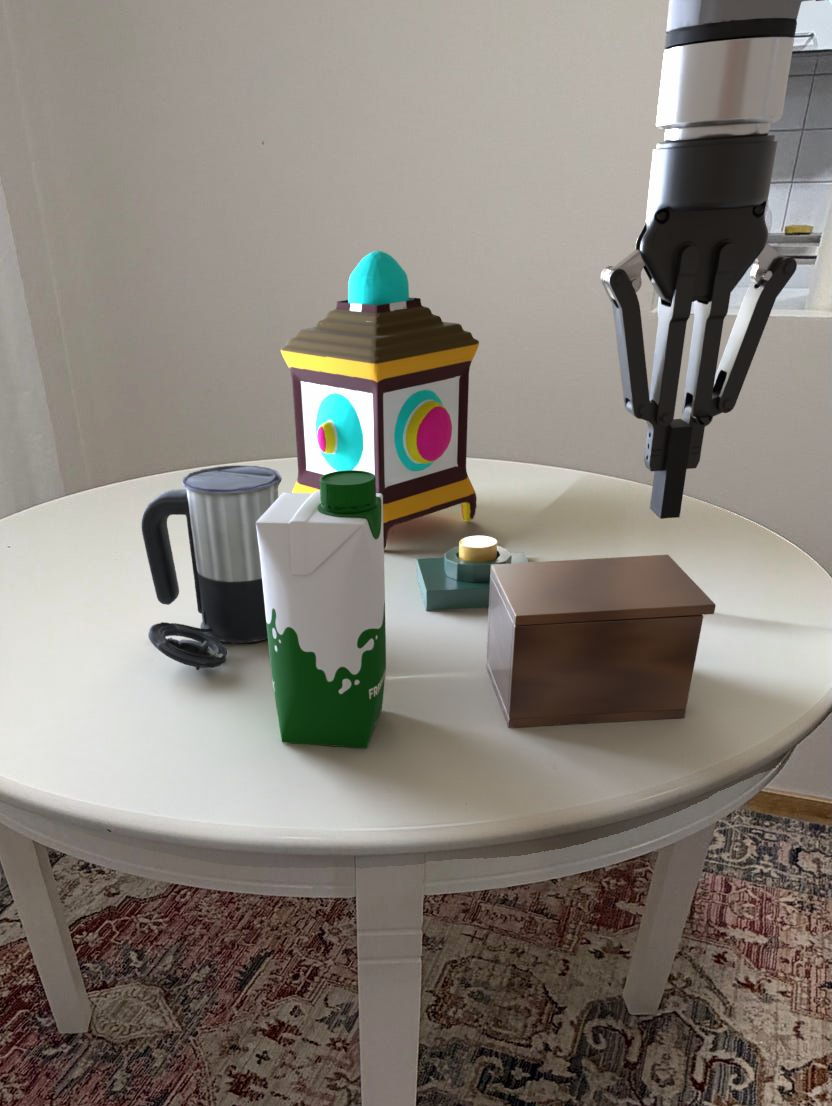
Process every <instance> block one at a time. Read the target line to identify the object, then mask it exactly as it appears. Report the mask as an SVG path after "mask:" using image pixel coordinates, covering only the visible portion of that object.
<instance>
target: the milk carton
mask: <svg viewBox="0 0 832 1106" xmlns="http://www.w3.org/2000/svg"><path fill="white" fill-rule="evenodd" d="M256 529H257V537H258V545H259V553H260V562H261V572H262V583H263V593H264V603H265V613H266V624H267V634H268V639H267V642H268V643H267V644H268V654H269V662H270V663H269V664H270V672H271V674H270V675H271V681H272V688H273V695H274V702H275V706H276V707H275V708H276V713H277V719H278V721H277V722H278V727H279V733H280V739H281V743H283V744H284V743H286V744H287V743H288V744H301V745H316V746H330V747H342V748H358V749H367V748H368V746H369V744H370V741H371V738H372V735H373V733H374V730H375V727H376V725H377V723H378V721H379V720H378V719H379V717H380V715H381V712H382V709H383V702H384V693H385V684H386V683H385V681H386V671H387V638H386V637H387V635H386V633H387V632H386V585H385V584H386V581H385V578H386V577H385V550H384V540H383V495H382V494H379V493H376V477H375V475H374V474H372V473H370V472H366V471H359V470H345V471H336V472H331V473H328V474H325V475H323V476H322V477H321V478H320V491H315V492H314V493H292V492H282V493H281V494H280V495H278V499H277V500H276V501H275V502H274V503H273V504H272V505H271V506H270V507H269V508H268V510H267V511H266V512H265V513H264V514H263V515H262V516H261V517H260V518H259V519H258V520H257V522H256Z"/></svg>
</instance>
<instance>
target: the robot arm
mask: <svg viewBox="0 0 832 1106" xmlns="http://www.w3.org/2000/svg"><path fill="white" fill-rule="evenodd" d="M809 1H812V0H668V9H667V19H666V31H665V39H664V51H663V59H662V68H661V76H660V86H659V94H658V104H657V113H656V114H657V115H656V122H655V126H656V128H657V129H658V130H659V131H665V132H664V139H663V140H664V141H663V142H657V144H656V148H653V149H652V157H651V166H650V174H649V175H650V177H649V186H648V194H647V204H646V216H645V221H644V224H643V227H642V229H641V231H640V233H639V234H638V237H637V239H636V242H635V249H634V251H632V252H631V253H630V254H628V255H627V256H626V257H625V258H623V259H622V260H621V261H619V262H618V263H617V264H616V265H613V266H612V265H608V266H606V267H604V268H603V270H602V271H601V272H600V277H599V279H600V282H601V285H602V287H603V288H604V291H605V293H606V295H607V297H608V299H609V301H610V302H611V304H612V312H613V320H614V329H615V338H616V346H617V353H618V354H617V355H618V362H619V372H620V379H621V381H620V382H621V389H622V396H623V397H622V398H623V404H624V409H625V411H627V412H628V413H629V414H631V415H632V416H633V417H635V418H636V419H638V420H643V421H646V423H647V431H646V439H645V448H644V455H643V463H644V466H645V468H646V469H647V470H649V472H653V480H652V488H651V495H650V503H649V509H650V510H651V511H652V512H653V514H655V515H656V516H657V517H658V518H659V519H674V518H675V519H676V518H681V511H682V510H681V509H682V503H683V496H684V491H685V490H684V489H685V482H686V476H687V470H689V469H690V470H692V469H697V467H698V465H699V463H700V461H701V457H702V456H701V455H702V450H703V449H702V447H703V442H704V435H705V430H706V427H708V426H709V425H710V424H711V423H712V421H713V420H714V417H716V416H718V415H720V414H722V413H723V414H728V413H730V412H731V411H733V410H734V408H735V407H736V404H737V401H738V399H739V396H740V393H741V391H742V389H743V386H744V383H745V381H746V378H747V375H748V372H749V370H750V368H751V365H752V362H753V360H754V357H755V354H756V352H757V349H758V348H759V343H760V342H761V338H762V336H763V333H764V331H765V329H766V326H767V323H768V320H769V318H770V315H771V313H772V310H773V307H774V306H775V302H776V300H777V297H778V296H779V295H780V294H781V293H782V291H783V290H784V288H785V287H786V285H787V284H788V282H789V281H790V280H791V278H792V277H793V276H794V274H795V272H796V271H797V267H798V264H797V261H796V259H795V258H794V257H791V256H784V255H782V254H781V253H780V252H779V251H777V250H776V249H775V248H774V247H773V246H772V245H770V244H769V243H768V240H769V228H768V226H767V223H766V217H765V216H766V215H765V213H766V207H767V204H768V200H769V195H770V189H771V183H772V177H773V171H774V165H775V158H776V155H777V154H776V152H777V148H778V140H775V138H776V135H775V134H770V129H771V124H772V123H778V122H779V120H781V119H782V117H783V112H784V107H785V101H786V93H787V87H788V81H789V74H790V69H791V62H792V56H793V49H794V43H795V37H796V32H797V25H798V23H797V22H798V21H797V20H798V16H799V13H800V9H801V5H802V2H809ZM822 1H823V2H824V0H815V2H822ZM828 2H829V3H830V5H831V6H832V0H828ZM751 267H752V269H751V271H750V273H749V279H750V281H751V283H750V284H749V286H748V288H747V290H746V292H745V294H744V296H743V298H742V301H741V304H740V307H739V309H738V312H737V315H736V318H735V321H734V324H733V325H732V329H731V331H730V334H729V337H728V340H727V343H726V345H725V347H724V351H723V354H722V356H721V358H720V361H719V365H718V360H719V354H720V347H721V339H722V334H723V326H724V321H725V318H726V317H727V314H728V312H729V306H730V300H731V293H732V292H733V291H734V290H735V288H736V287H737V286H738V284H739V283H740V282H741V280H742V279H743V278H744V276H745V275H746V273H747V272H748V271H749V270H750V268H751ZM643 270H644V272H645V274H646V276H647V277H648V280H649V281H650V283H651V285H652V287H653V289H654V291H655V293H656V295H657V296H658V300H657V301H658V302H657V317H658V321H657V330H656V337H655V346H654V353H653V354H654V355H653V362H652V369H651V378H650V387H649V380H648V372H647V371H648V370H647V362H646V351H645V341H644V332H643V322H642V314H641V306H640V302H639V301H640V300H639V297H638V294H637V293H638V291H640V289H641V287H642V282H643V281H642V271H643ZM692 306H693V315H694V317H693V324H692V333H691V341H690V348H689V354H688V363H687V369H686V370H687V371H686V377H685V384H684V390H683V391H684V392H683V398H682V407H681V413H682V415H683V417H682V418H675V411H676V404H677V397H678V390H679V381H680V376H681V375H680V374H681V368H682V361H683V352H684V345H685V338H686V330H687V323H688V320H689V319H690V316H691V312H692ZM717 365H718V366H717ZM649 388H650V389H649Z"/></svg>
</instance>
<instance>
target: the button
mask: <svg viewBox="0 0 832 1106" xmlns="http://www.w3.org/2000/svg"><path fill="white" fill-rule="evenodd" d="M498 543H499V542H498V540H497V539H496V538H494V537H492V536H487V535H470V536H465V537H463V538H461V539H460V540H459V542H458V546H459V559H462V560H464V561H471V562H487V561H491V560H494V559H497V546H498Z"/></svg>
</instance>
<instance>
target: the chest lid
mask: <svg viewBox="0 0 832 1106" xmlns="http://www.w3.org/2000/svg"><path fill="white" fill-rule="evenodd" d="M490 573H491V575H492V577H493V579H494V581H495V583H496V586H497V588H498V590H499V592H500V594H501V596H502V598H503V600H504V602H505V605H506V607H507V609H508V611H509V613H510V615H511V617H512V619H513V621H514V624H515V625H532V624H550V623H567V622H585V621H602V620H620V619H637V618H655V617H672V616H689V615H703V616H705V615H715V611H716V607H717V605H716V603H715V602H714V601H713V600H712V599H711V598H710V597H709V595H707V594H706V593H705V591H703V589H701V587H700V586H698V584H697V583H696V582H695V581H694V580H693V579H692V578H691V577H690V576H689V575H688V574H687V572H685V571H684V570H683V569H682V567H680V565H679V564H678V563H677V562H676V561H675V560H674V559H673V558H672V557H671V555H669V554H655V555H652V554H651V555H638V556H637V555H636V556H635V555H634V556H619V557H602V558H585V559H584V558H582V559H566V560H547V561H529V562H528V563H510V564H492V565H491V572H490Z"/></svg>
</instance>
